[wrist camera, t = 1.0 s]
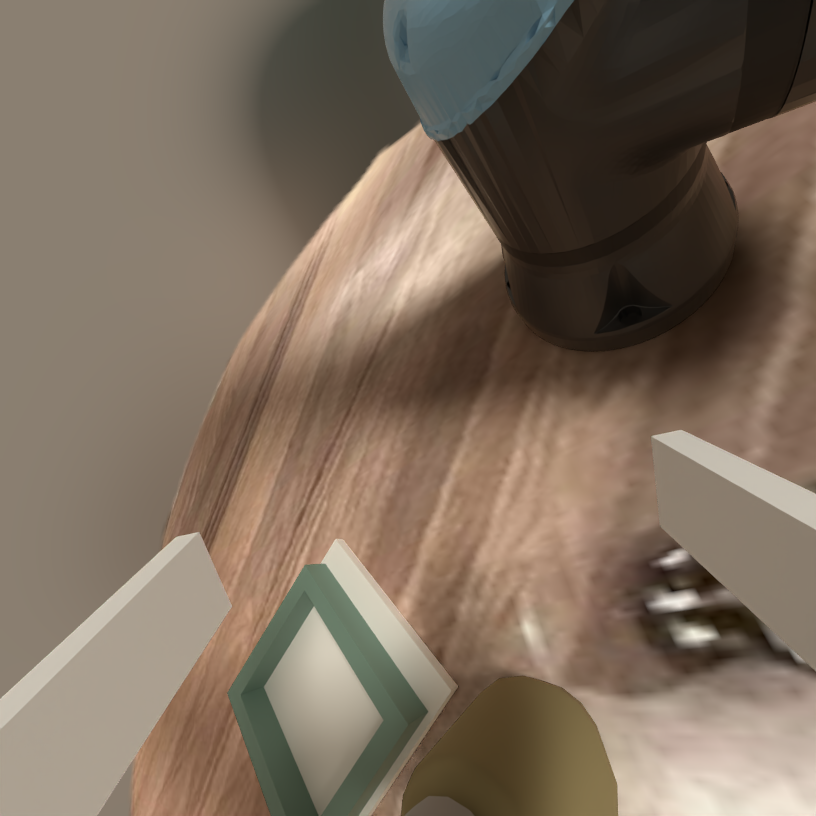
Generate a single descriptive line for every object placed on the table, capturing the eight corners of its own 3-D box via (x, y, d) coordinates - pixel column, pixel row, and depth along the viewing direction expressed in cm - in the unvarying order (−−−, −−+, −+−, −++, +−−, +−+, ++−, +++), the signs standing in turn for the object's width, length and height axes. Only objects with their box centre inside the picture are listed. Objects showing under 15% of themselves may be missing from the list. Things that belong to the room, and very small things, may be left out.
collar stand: (342, 539, 37) (316, 539, 35) (458, 686, 27) (433, 702, 25) (245, 696, 39) (213, 708, 36) (320, 890, 29) (283, 926, 26)
